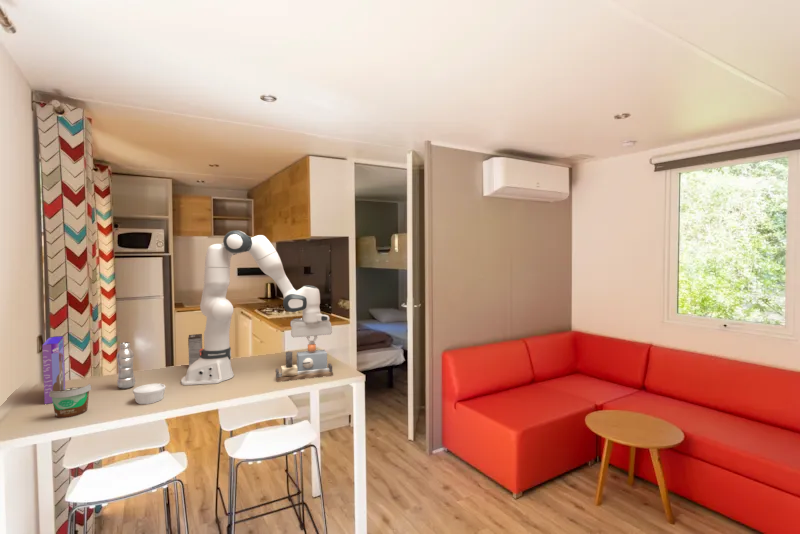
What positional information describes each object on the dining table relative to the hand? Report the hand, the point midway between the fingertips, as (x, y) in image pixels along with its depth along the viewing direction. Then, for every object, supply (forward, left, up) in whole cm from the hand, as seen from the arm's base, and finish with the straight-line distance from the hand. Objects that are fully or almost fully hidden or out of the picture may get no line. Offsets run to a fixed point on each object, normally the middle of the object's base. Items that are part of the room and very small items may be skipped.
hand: (311, 344), depth 206 cm
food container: (-92, -25, -13) cm, 96 cm away
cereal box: (-106, +1, -13) cm, 107 cm away
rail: (-5, -10, -13) cm, 17 cm away
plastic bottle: (-81, +3, -13) cm, 82 cm away
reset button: (0, 0, -3) cm, 3 cm away
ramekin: (-68, -18, -14) cm, 72 cm away
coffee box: (-56, +30, -13) cm, 65 cm away
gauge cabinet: (0, 0, -13) cm, 13 cm away
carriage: (-12, -10, -11) cm, 19 cm away
